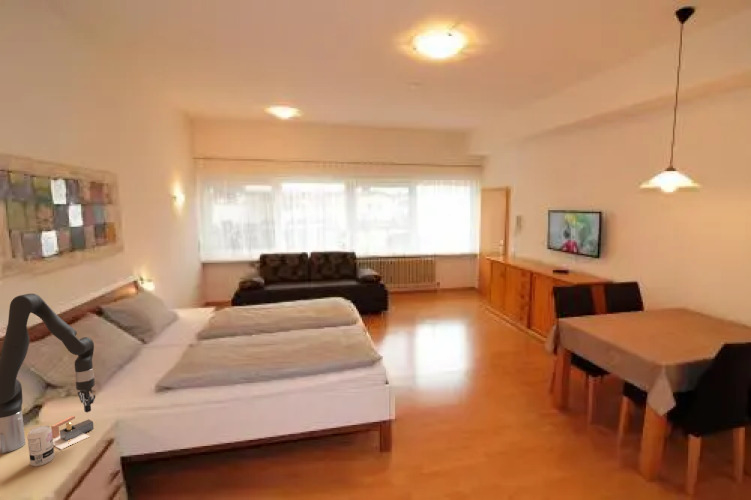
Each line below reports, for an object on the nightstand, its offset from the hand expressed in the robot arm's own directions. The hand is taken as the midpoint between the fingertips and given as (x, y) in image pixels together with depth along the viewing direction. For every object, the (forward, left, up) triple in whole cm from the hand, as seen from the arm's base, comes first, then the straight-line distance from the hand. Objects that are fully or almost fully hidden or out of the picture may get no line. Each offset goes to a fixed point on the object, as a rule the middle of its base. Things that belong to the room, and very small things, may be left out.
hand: (87, 411), depth 191 cm
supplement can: (-21, -3, -13) cm, 25 cm away
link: (-2, +8, -13) cm, 15 cm away
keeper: (-5, +15, -13) cm, 21 cm away
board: (-7, +8, -13) cm, 17 cm away
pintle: (-6, +8, -13) cm, 16 cm away
